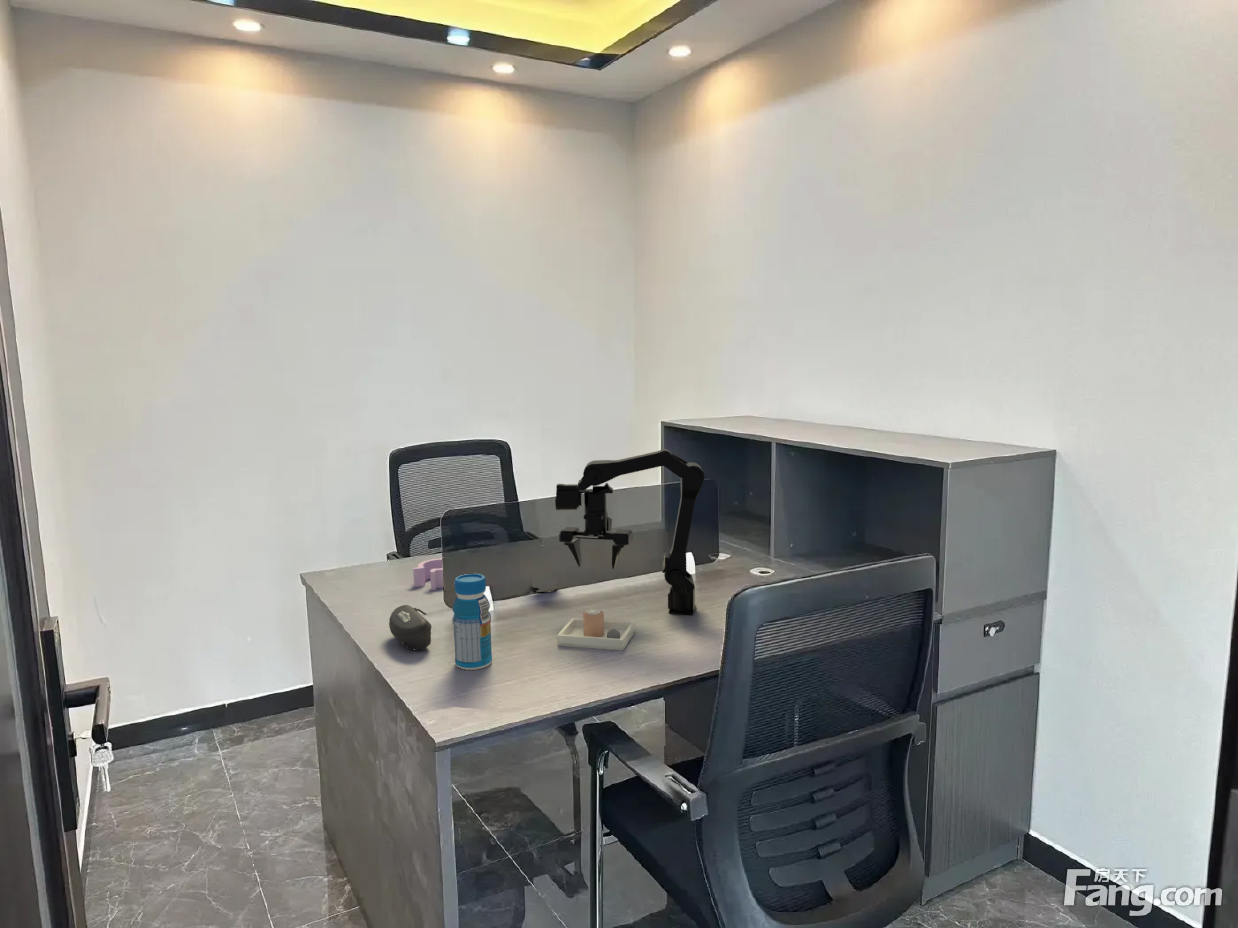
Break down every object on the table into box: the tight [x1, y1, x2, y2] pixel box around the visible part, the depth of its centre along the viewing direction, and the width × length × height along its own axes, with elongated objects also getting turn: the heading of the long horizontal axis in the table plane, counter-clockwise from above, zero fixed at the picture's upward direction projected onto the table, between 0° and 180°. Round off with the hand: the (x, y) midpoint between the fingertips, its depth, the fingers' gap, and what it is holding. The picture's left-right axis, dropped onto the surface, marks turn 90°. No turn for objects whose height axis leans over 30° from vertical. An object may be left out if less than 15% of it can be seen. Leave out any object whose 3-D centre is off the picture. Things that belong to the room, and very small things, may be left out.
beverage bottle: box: [451, 573, 493, 671], centre depth 174 cm, size 8×8×20 cm
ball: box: [607, 629, 620, 639], centre depth 185 cm, size 3×3×3 cm
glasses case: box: [388, 604, 432, 651], centre depth 188 cm, size 18×10×8 cm, turn 31°
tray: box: [556, 617, 635, 651], centre depth 189 cm, size 16×12×2 cm
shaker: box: [582, 607, 605, 637], centre depth 190 cm, size 5×5×6 cm
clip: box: [412, 557, 443, 591], centre depth 235 cm, size 20×12×7 cm, turn 151°
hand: (596, 567), depth 207 cm, fingers open, 9 cm apart
